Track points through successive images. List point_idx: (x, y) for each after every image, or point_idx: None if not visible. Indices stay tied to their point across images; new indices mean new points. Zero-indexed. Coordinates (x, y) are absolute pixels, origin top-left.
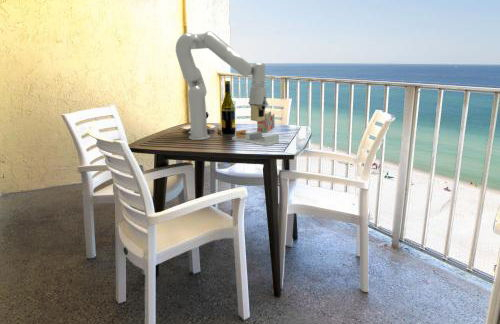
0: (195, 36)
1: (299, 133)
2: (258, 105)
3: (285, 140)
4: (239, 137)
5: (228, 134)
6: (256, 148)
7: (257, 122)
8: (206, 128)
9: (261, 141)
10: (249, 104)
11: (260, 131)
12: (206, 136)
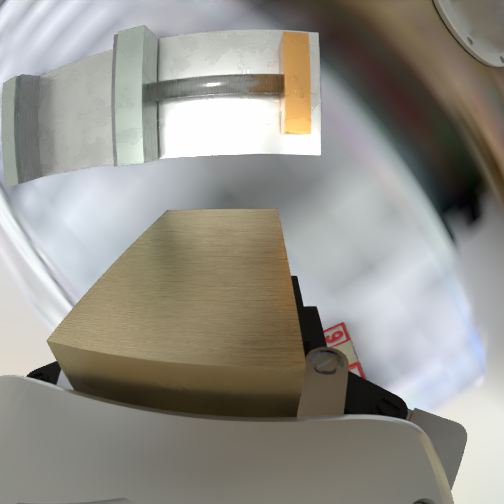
0: None
1: None
2: (75, 384)
3: (53, 243)
4: (263, 50)
5: (451, 170)
6: (42, 20)
7: (358, 366)
8: (485, 7)
9: (58, 80)
10: (430, 413)
11: (326, 334)
12: (454, 12)
